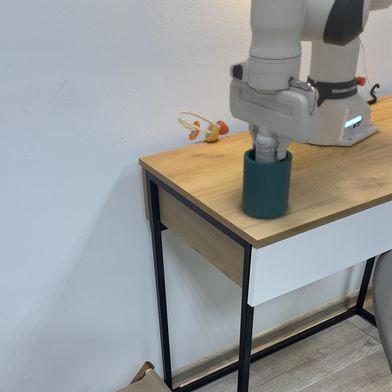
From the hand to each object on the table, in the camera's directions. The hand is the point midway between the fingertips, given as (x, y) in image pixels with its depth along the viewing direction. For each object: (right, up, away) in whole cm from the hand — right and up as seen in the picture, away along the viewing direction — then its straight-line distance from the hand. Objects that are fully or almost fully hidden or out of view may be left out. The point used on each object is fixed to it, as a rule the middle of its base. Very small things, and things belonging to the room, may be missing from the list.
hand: (268, 153), depth 94 cm
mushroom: (-18, +22, +31) cm, 43 cm away
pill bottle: (0, -2, +2) cm, 3 cm away
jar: (0, -8, +8) cm, 11 cm away
